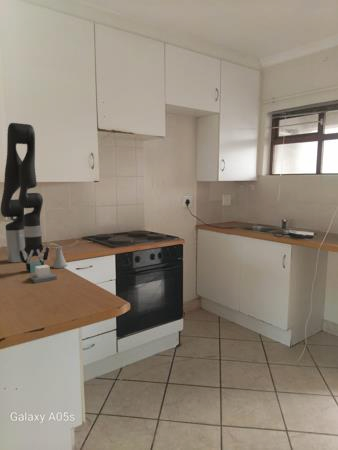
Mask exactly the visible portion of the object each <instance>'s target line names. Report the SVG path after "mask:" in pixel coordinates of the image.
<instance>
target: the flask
mask: <svg viewBox="0 0 338 450" xmlns="http://www.w3.org/2000/svg"><path fill="white" fill-rule="evenodd" d="M55 250H56V252H55V257H54V261H53V263H52V268H53V269H61V268H67V267H68V263H67V261H66V259H65V257H64V255H63V246H57V247H55Z"/></svg>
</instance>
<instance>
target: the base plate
mask: <svg viewBox="0 0 338 450" xmlns="http://www.w3.org/2000/svg"><path fill="white" fill-rule="evenodd" d="M28 276H29V279H30V281H32V282H33V283H34V284H39V283H44V282H49V281H55V280H57V275H56V274H54V273H53V272H51V271H50V276H46V277H40V278H38V277H37V276H36V275H35V273H32V274H29V275H28Z"/></svg>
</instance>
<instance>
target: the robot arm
mask: <svg viewBox="0 0 338 450" xmlns="http://www.w3.org/2000/svg"><path fill="white" fill-rule="evenodd" d="M6 142H7V143H6V159H5V170H4V184H3V192H2V198H1V202H0V213H1V216H2V217H4V218H13V217H14V218H15V219H14V220H13V221H11V222H8V223H7V224H5V236H6V238H5V241H6V253H7V262H8V263H22V264H25V268H26V271H28V272H30V263H29V262H31V259H32V257H38V259H39V261H40V262H41V264H42V265H45V264H44V263H45V262H44V261H46V260H48V256H49V252H50V248H49V247H47V246H45V247H44V246H43V239H42V234H43V233H42V228H41V212H42V208H43V204H44V197H43V196H42V194H41V193H40V192H28V190H30V189H34V188H36V187H37V185H38V183H37V175H36V166H35V165H36V164H35V161H36V155H35V154H36V135H35V129H34V127H33V125H31V124H28V123H18V122H10V123H9V124H8V127H7V139H6ZM18 144H19V145H26V154H25V156H24V158H23V159H21V157H20V155H19V153H18V151H17V145H18ZM18 189H19V195H18V199H12V198H13V196H14V194H16V192H17V191H18ZM25 209H32V210H31V212H28V213H25ZM42 252H43V256H42Z"/></svg>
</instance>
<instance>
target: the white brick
mask: <svg viewBox="0 0 338 450" xmlns="http://www.w3.org/2000/svg"><path fill="white" fill-rule="evenodd" d="M50 272H51V266H49V265H48V264H44V265H41V266H35V272H34V274H35V275H36V276H37V277H38V278H40V277H46V276H50Z"/></svg>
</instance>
